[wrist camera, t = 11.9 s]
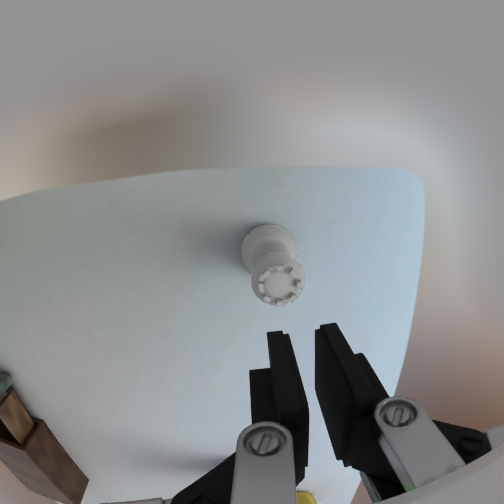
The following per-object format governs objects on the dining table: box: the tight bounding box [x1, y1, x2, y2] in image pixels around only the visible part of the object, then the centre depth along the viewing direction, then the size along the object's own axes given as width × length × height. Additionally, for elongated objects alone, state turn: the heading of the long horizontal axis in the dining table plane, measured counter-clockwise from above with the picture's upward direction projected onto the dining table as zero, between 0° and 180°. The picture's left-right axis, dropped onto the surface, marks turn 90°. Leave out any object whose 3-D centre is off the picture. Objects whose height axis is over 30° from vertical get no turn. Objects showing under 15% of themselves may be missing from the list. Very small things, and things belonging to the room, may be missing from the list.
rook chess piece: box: [241, 225, 305, 306], centre depth 21 cm, size 4×4×8 cm
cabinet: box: [0, 417, 89, 504], centre depth 29 cm, size 17×13×7 cm
